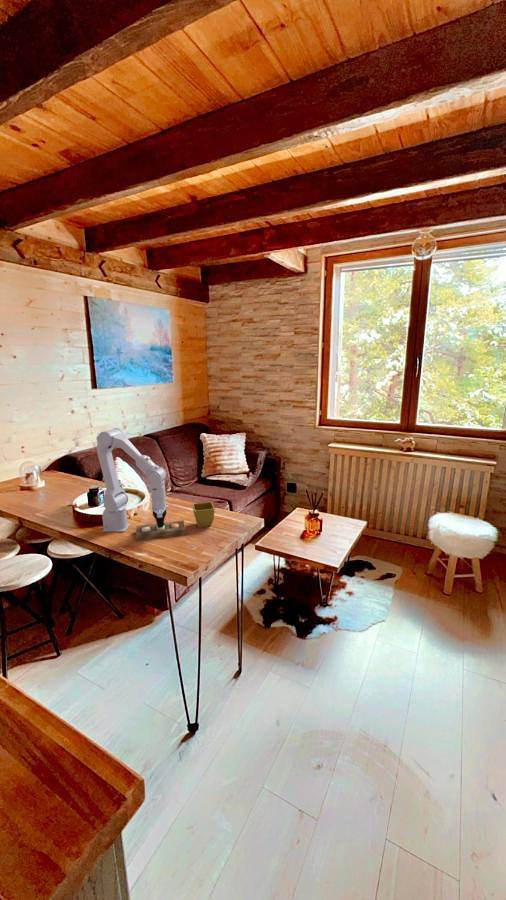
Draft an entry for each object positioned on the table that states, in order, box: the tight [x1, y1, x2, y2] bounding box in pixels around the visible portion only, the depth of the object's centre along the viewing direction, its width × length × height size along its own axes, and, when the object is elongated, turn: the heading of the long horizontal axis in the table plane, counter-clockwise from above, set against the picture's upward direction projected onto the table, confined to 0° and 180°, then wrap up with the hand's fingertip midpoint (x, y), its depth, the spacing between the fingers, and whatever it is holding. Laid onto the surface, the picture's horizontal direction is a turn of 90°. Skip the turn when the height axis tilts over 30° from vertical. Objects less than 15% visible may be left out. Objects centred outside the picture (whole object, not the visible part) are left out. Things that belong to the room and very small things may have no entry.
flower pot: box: [192, 501, 216, 528], centre depth 168 cm, size 9×9×9 cm
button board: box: [135, 520, 186, 542], centre depth 161 cm, size 20×9×2 cm, turn 105°
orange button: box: [171, 523, 179, 529], centre depth 162 cm, size 4×4×2 cm
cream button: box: [142, 527, 151, 532], centre depth 159 cm, size 4×4×2 cm
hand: (160, 526), depth 161 cm, fingers closed, pressing on sage button
